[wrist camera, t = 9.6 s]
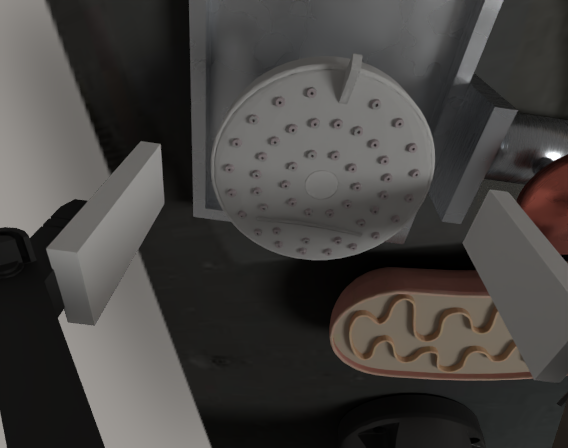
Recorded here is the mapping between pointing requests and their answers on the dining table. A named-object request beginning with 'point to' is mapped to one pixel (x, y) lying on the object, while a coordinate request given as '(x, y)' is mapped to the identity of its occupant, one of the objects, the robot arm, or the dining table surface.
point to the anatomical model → (424, 327)
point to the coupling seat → (406, 72)
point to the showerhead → (322, 158)
